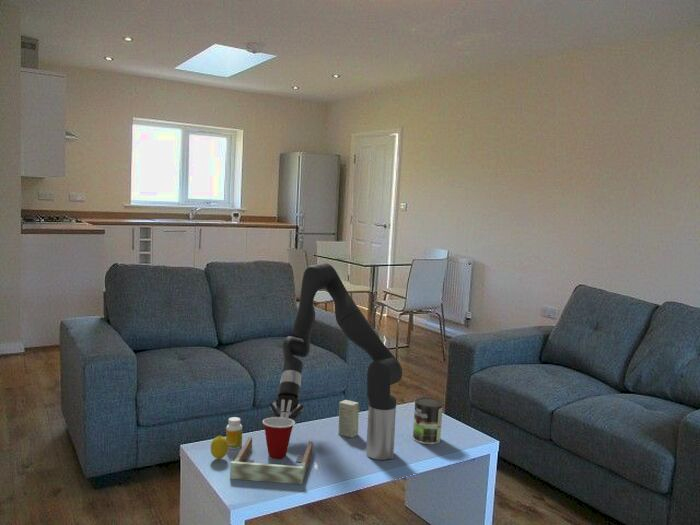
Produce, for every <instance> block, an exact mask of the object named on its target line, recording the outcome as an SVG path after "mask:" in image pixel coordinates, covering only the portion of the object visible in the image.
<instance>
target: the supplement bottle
mask: <svg viewBox="0 0 700 525" xmlns="http://www.w3.org/2000/svg"><path fill="white" fill-rule="evenodd" d="M225 432H226V433H225V434H226V435H225V439H226V440H227V443H228V450H229V449H230V450H238V449H240V448H242V447H243V445H242V444H243V425H242V424H241V418H240V417H237V416H233V417H229V418H228V424H227V425H226V429H225Z"/></svg>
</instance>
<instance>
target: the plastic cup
mask: <svg viewBox="0 0 700 525" xmlns="http://www.w3.org/2000/svg"><path fill="white" fill-rule="evenodd" d="M262 424H263V428H264V432H265V440H266V449H267V454H268V457H269V458H270V457H271V458H270V459H274V460H280V459H284V458H286V456H287V452H288V448H289V444H290V439H291V435H292V431H293V428H294V425H295V424H296V421H295V419H294V420H292V419H289V418H283V417H275V416H274V417H273V416H271V417H267V418H264V419H263V420H262Z"/></svg>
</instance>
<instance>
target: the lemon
mask: <svg viewBox="0 0 700 525" xmlns="http://www.w3.org/2000/svg"><path fill="white" fill-rule="evenodd" d="M228 450H229V449H228V443H227V440H226V437H224V436H222V435H218V436H216V437H214V438H213V439H212V441H211V443H210V453H211V455H212V457H213V458H215V459H217V460H219V461H220V460H221V459H222V458H224V457H225V456H226V455H227V453H228Z"/></svg>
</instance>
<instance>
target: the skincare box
mask: <svg viewBox="0 0 700 525" xmlns="http://www.w3.org/2000/svg"><path fill="white" fill-rule="evenodd" d="M359 409H360V404H359V402H357V401H353V400H349V399H344V400H340V401H339V402H338V435H341V436H344V437H348V438H352V439H353V438H355V437H356V436H358V435H359V414H360V413H359V412H360V411H359Z"/></svg>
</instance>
